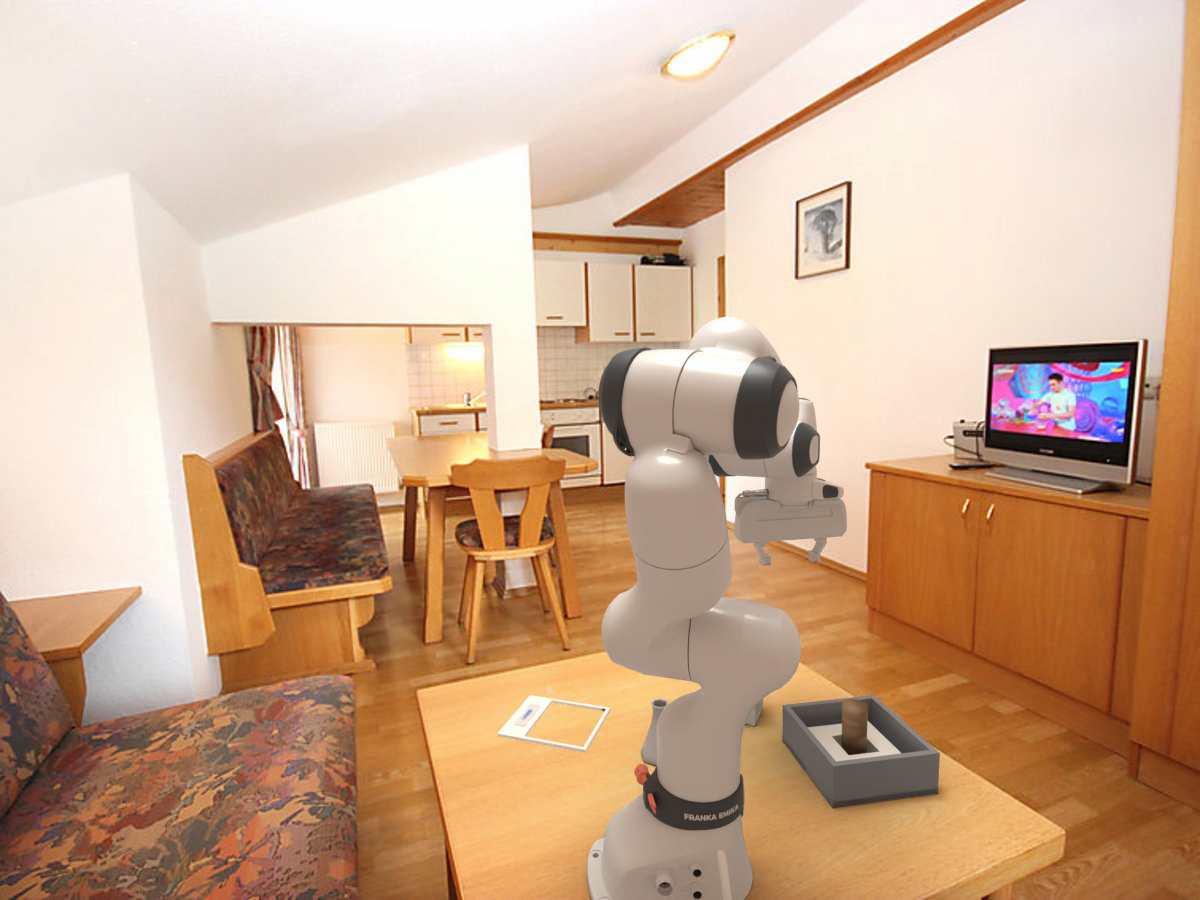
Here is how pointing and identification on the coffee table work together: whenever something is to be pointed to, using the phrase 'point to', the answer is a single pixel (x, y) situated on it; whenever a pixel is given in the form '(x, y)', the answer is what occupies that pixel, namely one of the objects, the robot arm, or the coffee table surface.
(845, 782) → the bin
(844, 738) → the peg
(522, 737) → the photo frame
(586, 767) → the coffee table surface
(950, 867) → the coffee table surface
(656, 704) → the flask
